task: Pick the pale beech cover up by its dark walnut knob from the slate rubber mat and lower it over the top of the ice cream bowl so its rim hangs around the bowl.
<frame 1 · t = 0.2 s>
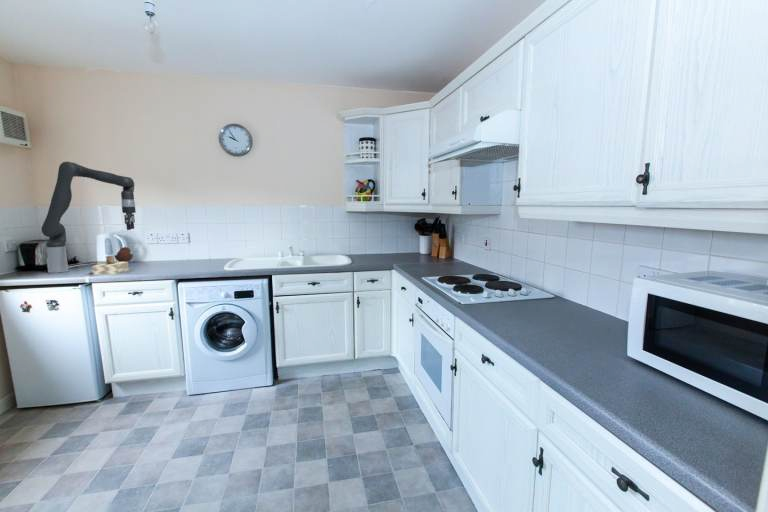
hand: (130, 229, 243), 28 cm above the worktop, tool pointing down, fingers open, 8 cm apart
lid: (110, 264, 233), on the mat
ice cream bowl: (125, 268, 251), on the worktop
mat: (111, 272, 233), on the worktop
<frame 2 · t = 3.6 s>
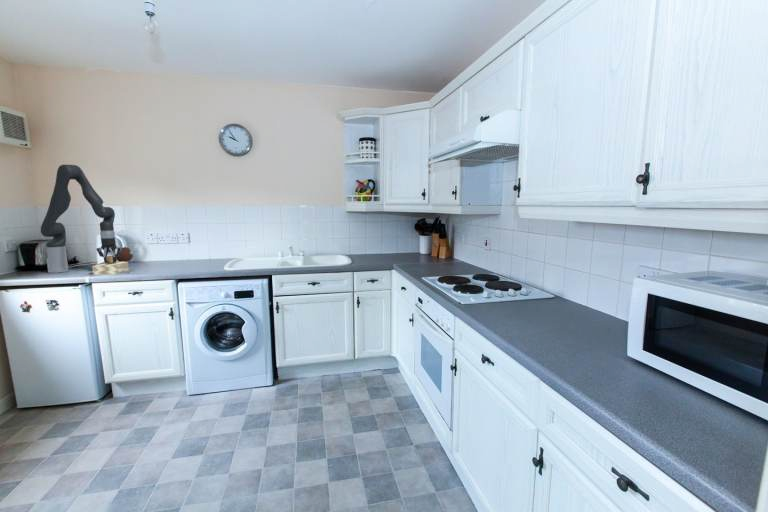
hand: (110, 262, 232), 7 cm above the worktop, tool pointing down, fingers closed on lid, 4 cm apart
lid: (110, 264, 233), on the mat, touching gripper
everything else where it was.
when the fingers open (17 cm above the worktop, at t = 9.9 s): lid stays where it is, resting on ice cream bowl.
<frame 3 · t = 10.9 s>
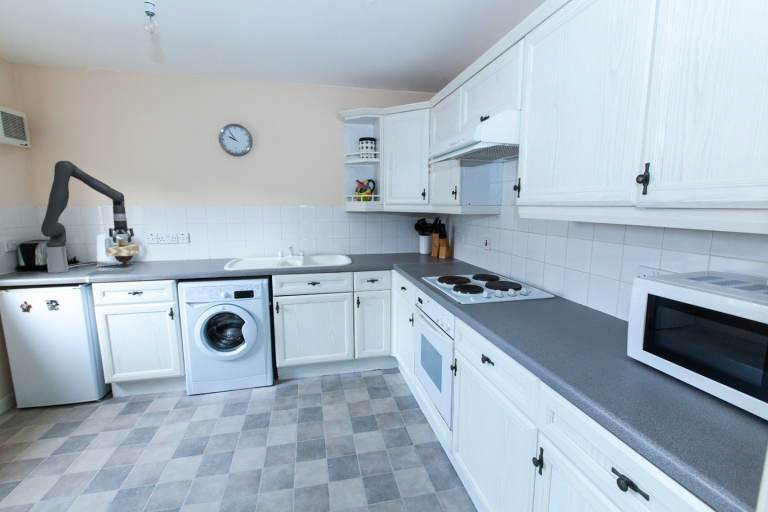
hand: (122, 242, 248), 18 cm above the worktop, tool pointing down, fingers open, 8 cm apart
lid: (122, 246, 249), point 15 cm above the worktop, touching ice cream bowl
ice cream bowl: (125, 268, 251), on the worktop, touching lid
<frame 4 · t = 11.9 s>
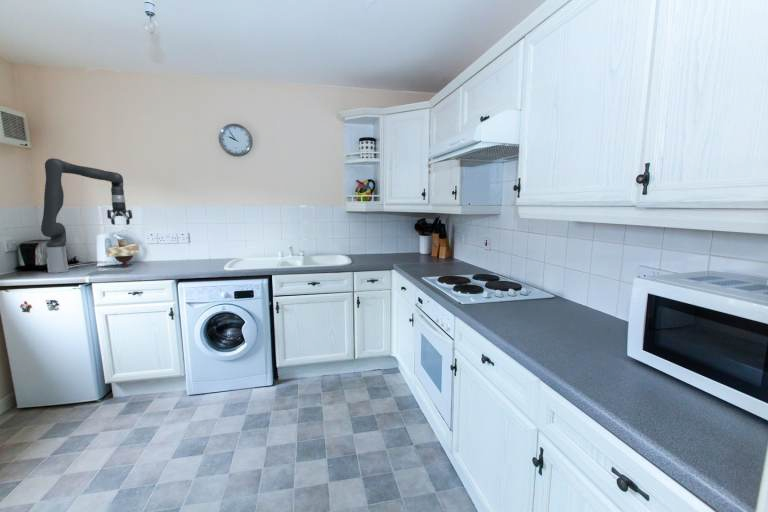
hand: (120, 224, 247), 31 cm above the worktop, tool pointing down, fingers open, 8 cm apart
nothing on the worktop moved.
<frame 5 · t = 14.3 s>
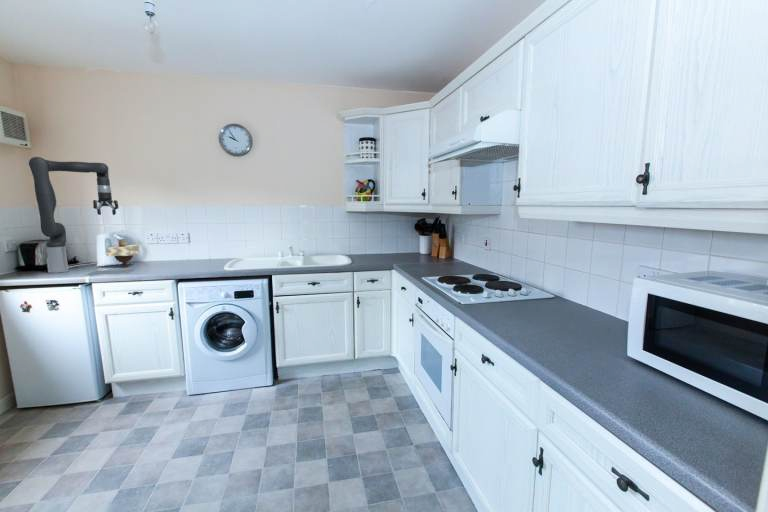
hand: (106, 214, 248), 38 cm above the worktop, tool pointing down, fingers open, 8 cm apart
nothing on the worktop moved.
at the end: lid 0.1 cm from the ice cream bowl (horizontally); lid point 15.4 cm above the worktop; lid tilted 0° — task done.
